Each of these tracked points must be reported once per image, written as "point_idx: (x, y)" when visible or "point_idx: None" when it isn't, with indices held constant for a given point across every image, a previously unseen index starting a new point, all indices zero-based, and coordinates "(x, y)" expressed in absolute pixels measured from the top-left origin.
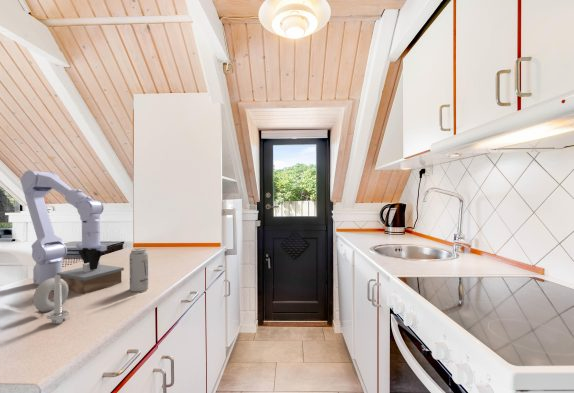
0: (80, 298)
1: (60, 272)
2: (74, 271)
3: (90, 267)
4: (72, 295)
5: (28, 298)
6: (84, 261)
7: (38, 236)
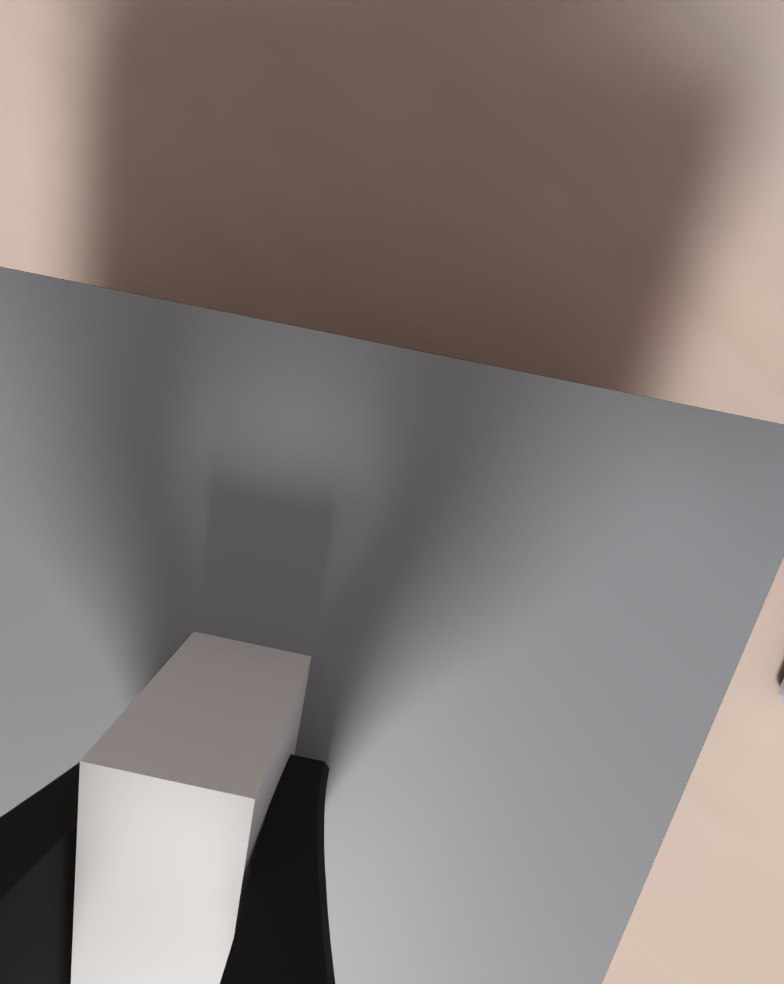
0: (65, 222)
1: (778, 501)
2: (506, 634)
3: None
4: (271, 299)
5: (775, 26)
6: (264, 937)
7: None
